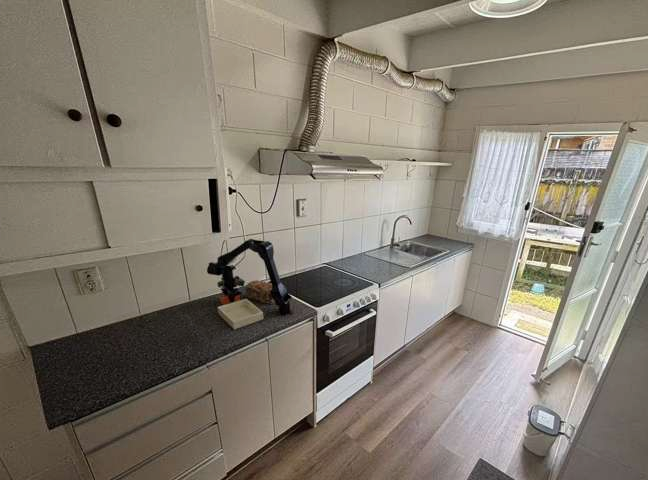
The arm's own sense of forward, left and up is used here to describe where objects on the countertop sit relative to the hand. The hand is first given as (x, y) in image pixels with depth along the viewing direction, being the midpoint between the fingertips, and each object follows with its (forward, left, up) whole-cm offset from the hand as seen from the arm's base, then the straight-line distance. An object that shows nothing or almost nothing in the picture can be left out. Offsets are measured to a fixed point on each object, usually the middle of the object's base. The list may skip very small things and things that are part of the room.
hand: (231, 301), depth 168 cm
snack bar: (0, 0, 0) cm, 0 cm away
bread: (-5, -18, -2) cm, 19 cm away
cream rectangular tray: (-17, +2, -2) cm, 17 cm away
